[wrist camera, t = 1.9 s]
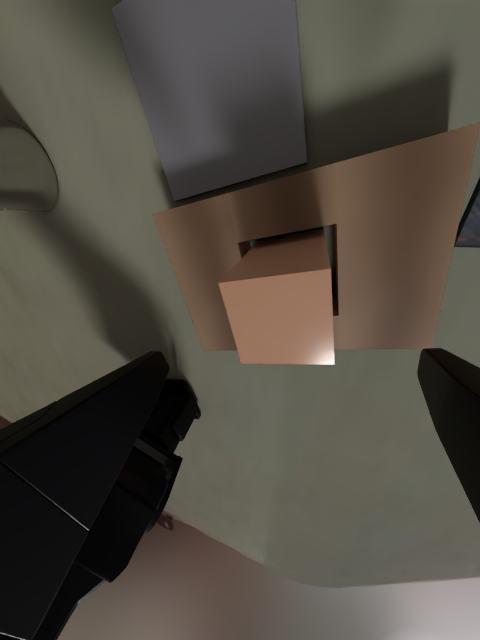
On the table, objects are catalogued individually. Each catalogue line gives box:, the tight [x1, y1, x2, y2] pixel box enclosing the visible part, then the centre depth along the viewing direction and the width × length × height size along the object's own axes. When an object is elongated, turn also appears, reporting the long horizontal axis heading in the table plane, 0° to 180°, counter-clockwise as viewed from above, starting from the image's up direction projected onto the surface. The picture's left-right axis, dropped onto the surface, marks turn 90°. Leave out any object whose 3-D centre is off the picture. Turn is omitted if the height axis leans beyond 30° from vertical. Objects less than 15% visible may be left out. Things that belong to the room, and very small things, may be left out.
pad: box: [111, 0, 307, 201], centre depth 12 cm, size 9×9×1 cm
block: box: [218, 229, 335, 365], centre depth 13 cm, size 4×4×8 cm
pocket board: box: [153, 122, 480, 351], centre depth 15 cm, size 16×11×3 cm
